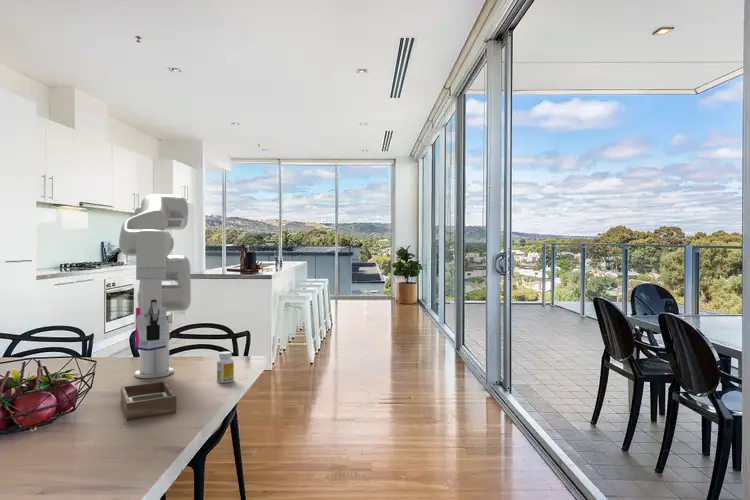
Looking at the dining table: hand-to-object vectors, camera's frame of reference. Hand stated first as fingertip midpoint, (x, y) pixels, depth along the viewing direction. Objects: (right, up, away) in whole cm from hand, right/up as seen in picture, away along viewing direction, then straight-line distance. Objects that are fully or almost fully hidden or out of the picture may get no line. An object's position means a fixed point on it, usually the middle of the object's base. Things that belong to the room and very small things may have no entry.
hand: (150, 337), depth 134 cm
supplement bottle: (+12, -20, +30) cm, 38 cm away
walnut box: (-2, -20, +2) cm, 20 cm away
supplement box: (0, -3, 0) cm, 3 cm away
